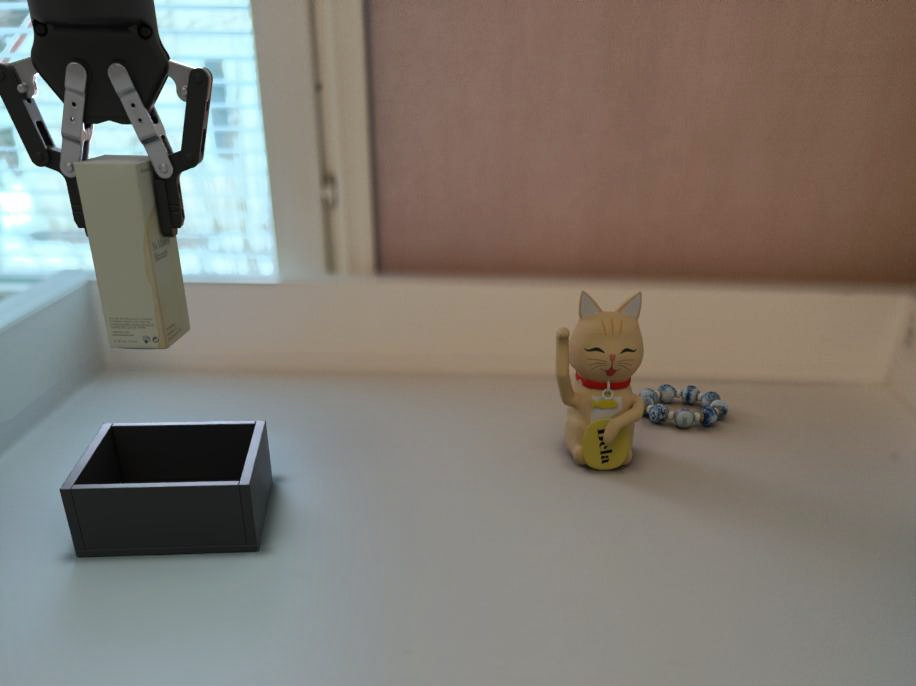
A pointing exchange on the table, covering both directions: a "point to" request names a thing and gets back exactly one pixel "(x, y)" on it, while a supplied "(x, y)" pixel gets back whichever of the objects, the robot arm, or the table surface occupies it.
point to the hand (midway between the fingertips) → (132, 234)
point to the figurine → (601, 382)
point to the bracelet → (683, 416)
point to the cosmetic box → (132, 253)
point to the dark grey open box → (170, 489)
